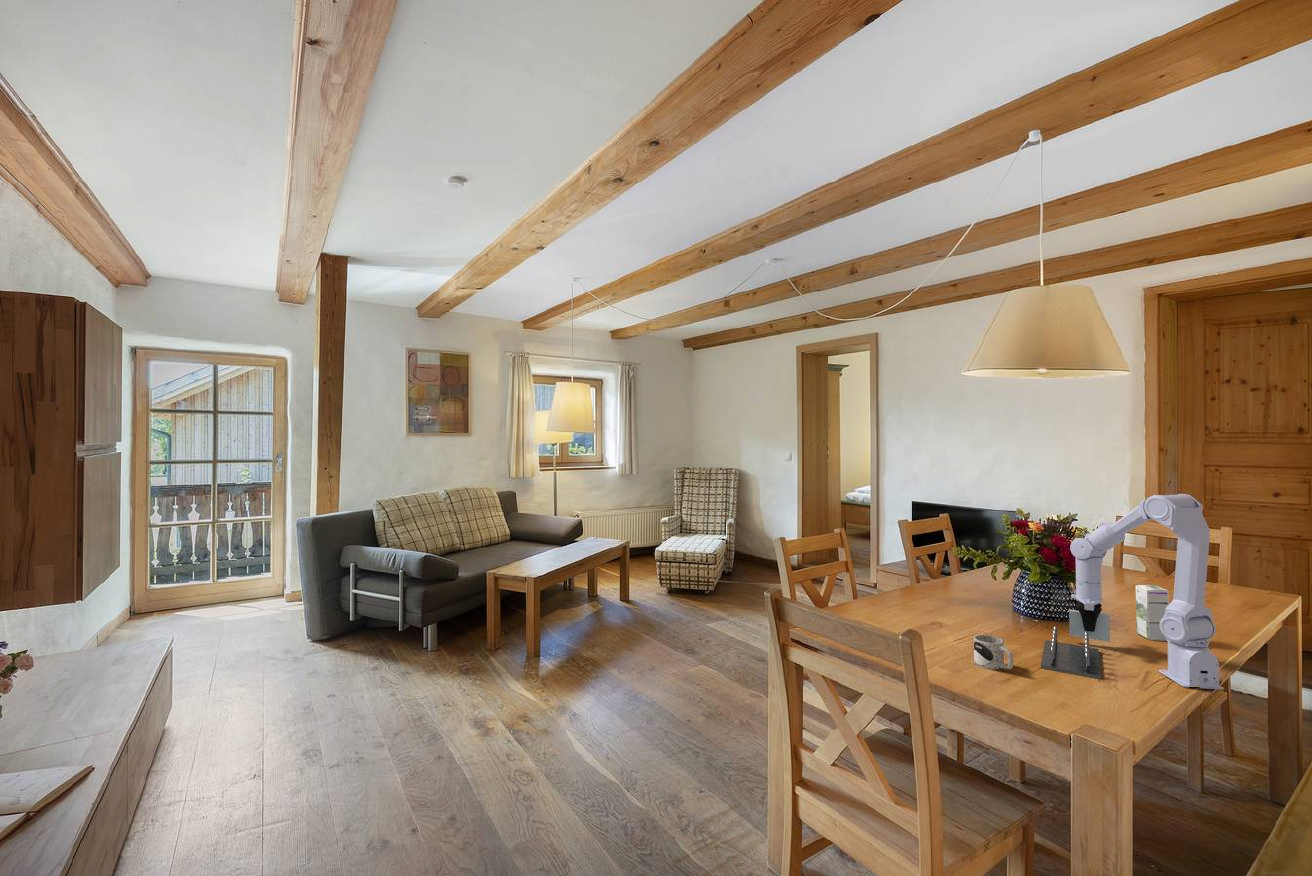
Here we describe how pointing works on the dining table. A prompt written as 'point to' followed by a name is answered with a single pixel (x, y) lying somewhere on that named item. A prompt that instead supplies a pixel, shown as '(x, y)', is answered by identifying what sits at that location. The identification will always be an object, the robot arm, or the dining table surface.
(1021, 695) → the dining table surface
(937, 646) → the dining table surface
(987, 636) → the mug
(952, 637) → the dining table surface
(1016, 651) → the dining table surface
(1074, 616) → the plate
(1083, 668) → the rack
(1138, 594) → the syrup box
